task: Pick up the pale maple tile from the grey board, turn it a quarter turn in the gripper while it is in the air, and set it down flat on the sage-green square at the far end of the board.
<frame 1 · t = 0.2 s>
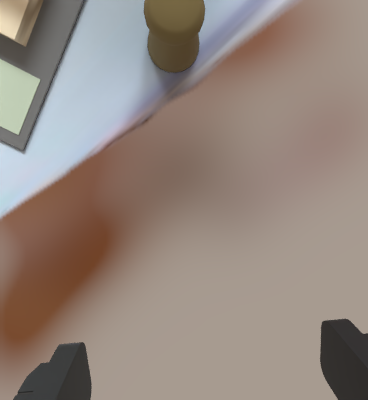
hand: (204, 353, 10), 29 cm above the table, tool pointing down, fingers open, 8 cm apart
grey board: (5, 46, 34), on the table
cork: (173, 45, 35), on the table
maple tile: (19, 1, 32), resting on grey board
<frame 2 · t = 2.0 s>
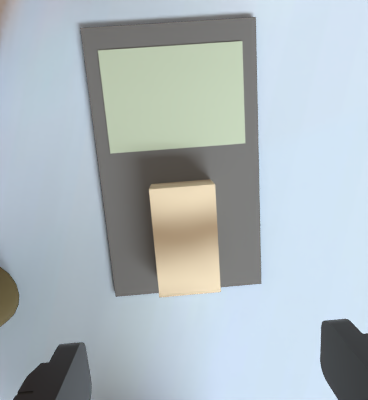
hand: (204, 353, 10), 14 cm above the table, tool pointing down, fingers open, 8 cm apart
grey board: (179, 168, 23), on the table
maple tile: (184, 231, 23), resting on grey board
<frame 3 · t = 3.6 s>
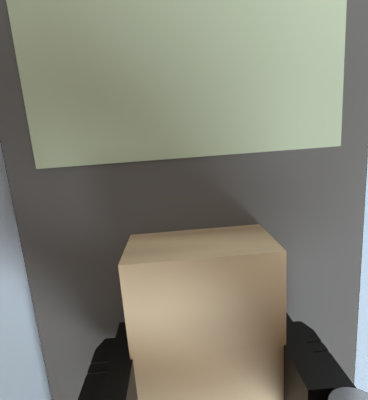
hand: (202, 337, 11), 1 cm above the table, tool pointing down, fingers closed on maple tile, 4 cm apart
grey board: (192, 199, 10), on the table
maple tile: (202, 330, 11), resting on grey board, touching gripper
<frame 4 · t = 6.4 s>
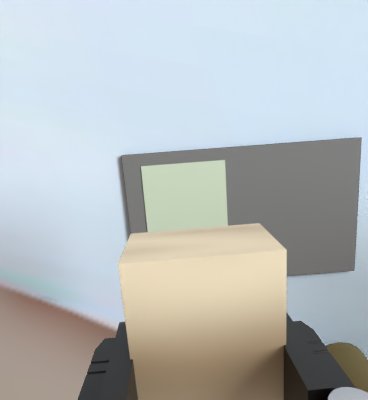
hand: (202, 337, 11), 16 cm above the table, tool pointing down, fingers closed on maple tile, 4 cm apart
grey board: (243, 215, 26), on the table
cork: (335, 367, 30), on the table
maple tile: (202, 329, 11), point 15 cm above the table, touching gripper
when the fingers open (2 cm above the table, at t = 9.3 s): maple tile drops 1 cm, resting on grey board.
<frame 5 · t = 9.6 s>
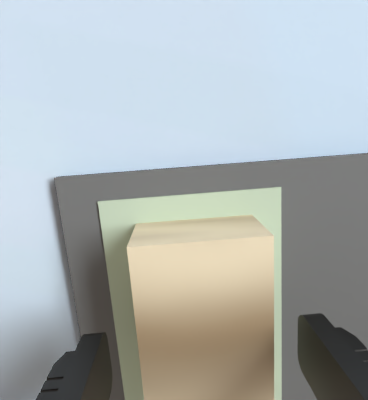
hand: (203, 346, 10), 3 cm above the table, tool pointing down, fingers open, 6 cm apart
grey board: (311, 295, 13), on the table
maple tile: (200, 311, 12), resting on grey board
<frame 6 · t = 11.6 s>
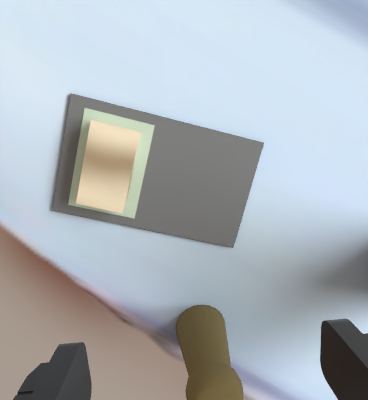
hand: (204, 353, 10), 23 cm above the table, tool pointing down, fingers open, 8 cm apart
grey board: (158, 176, 31), on the table
cork: (200, 326, 36), on the table
maple tile: (111, 165, 30), resting on grey board
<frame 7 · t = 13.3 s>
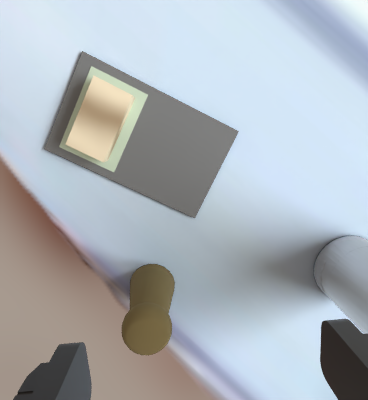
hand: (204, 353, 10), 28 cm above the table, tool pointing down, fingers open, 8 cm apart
grey board: (142, 140, 36), on the table
cork: (152, 284, 40), on the table
maple tile: (103, 121, 35), resting on grey board
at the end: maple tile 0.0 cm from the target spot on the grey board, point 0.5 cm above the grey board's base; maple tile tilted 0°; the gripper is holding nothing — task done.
